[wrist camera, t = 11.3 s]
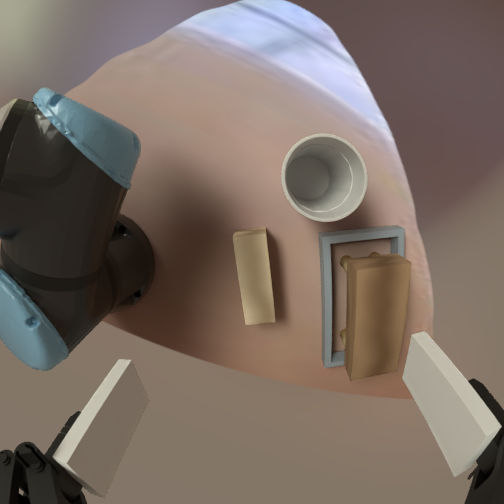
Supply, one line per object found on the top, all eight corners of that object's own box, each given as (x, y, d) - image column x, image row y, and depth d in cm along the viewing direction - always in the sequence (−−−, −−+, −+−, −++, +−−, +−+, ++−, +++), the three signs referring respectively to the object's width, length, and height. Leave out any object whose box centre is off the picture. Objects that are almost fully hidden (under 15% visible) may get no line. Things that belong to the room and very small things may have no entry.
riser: (247, 311, 40) (245, 324, 36) (235, 230, 37) (232, 237, 33) (274, 308, 39) (275, 322, 36) (265, 227, 36) (265, 233, 32)
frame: (322, 359, 42) (327, 378, 37) (318, 232, 36) (326, 241, 31) (388, 346, 41) (398, 363, 36) (396, 225, 35) (413, 232, 30)
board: (343, 363, 36) (350, 380, 32) (346, 259, 32) (356, 270, 28) (387, 354, 35) (396, 370, 32) (396, 253, 31) (411, 262, 27)
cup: (263, 170, 34) (263, 165, 23) (312, 136, 33) (335, 117, 21) (298, 219, 36) (314, 239, 24) (346, 186, 34) (382, 191, 23)
